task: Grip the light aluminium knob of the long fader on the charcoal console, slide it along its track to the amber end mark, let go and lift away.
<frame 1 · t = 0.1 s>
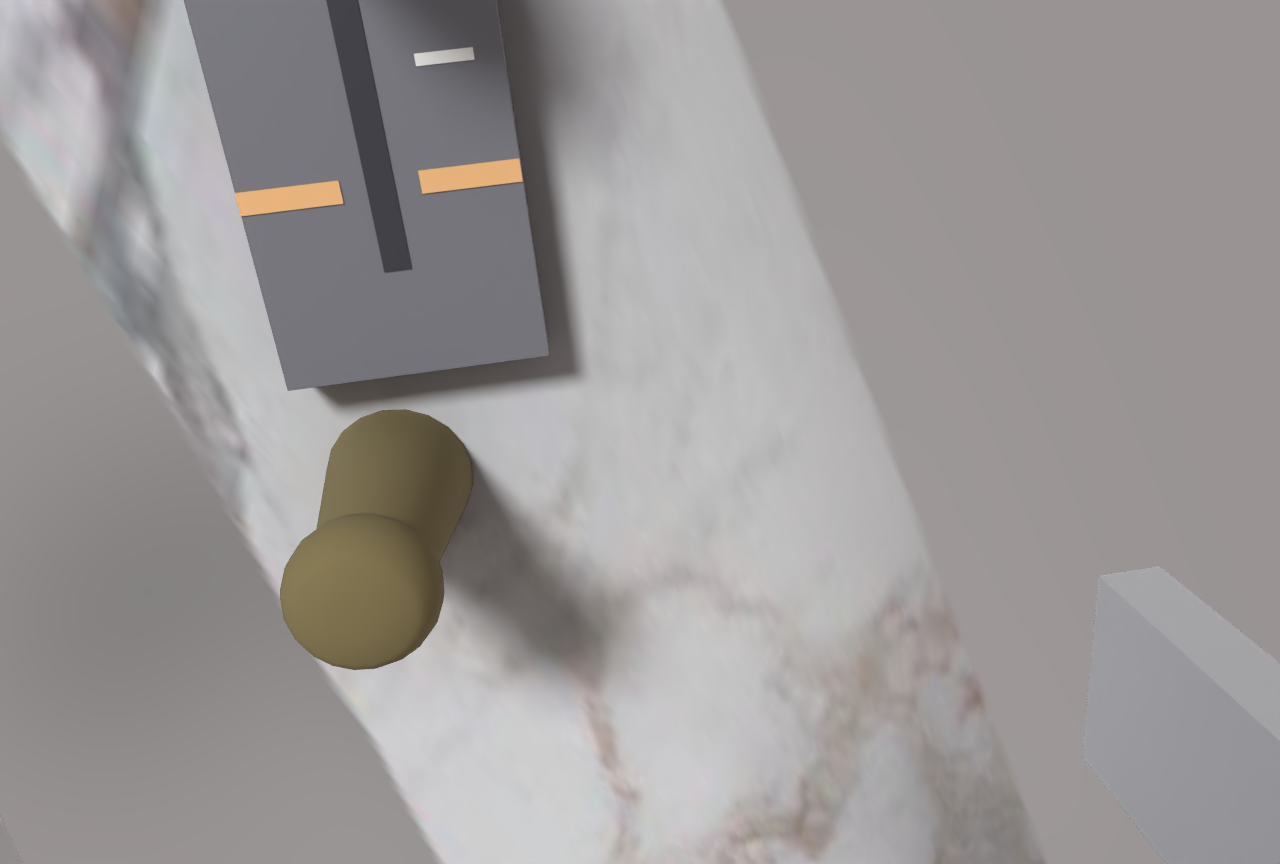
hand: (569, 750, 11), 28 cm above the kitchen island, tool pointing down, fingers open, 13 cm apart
fader console: (365, 66, 34), on the kitchen island
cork: (401, 474, 40), on the kitchen island
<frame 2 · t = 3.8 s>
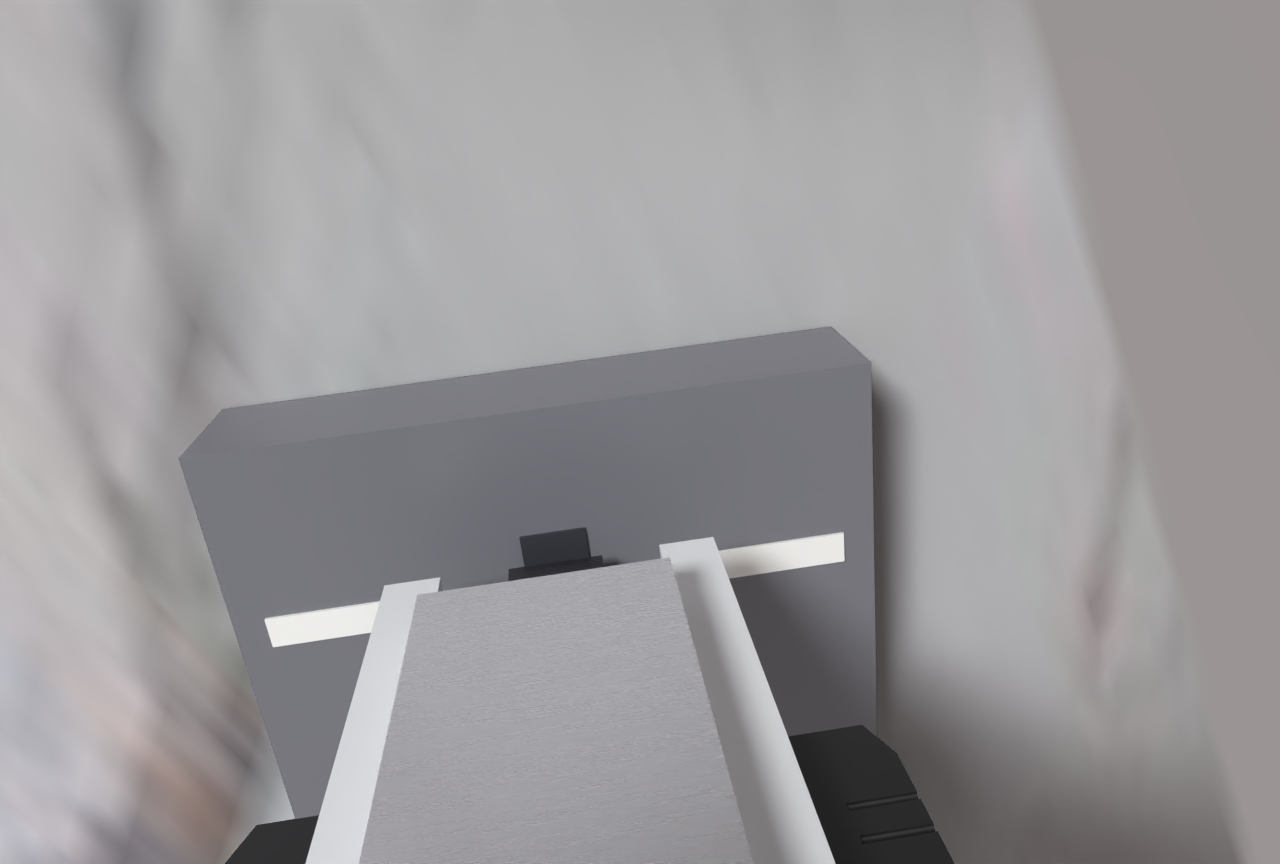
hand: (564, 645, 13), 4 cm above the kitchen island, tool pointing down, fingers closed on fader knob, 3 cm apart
fader knob: (573, 814, 10), point 7 cm above the kitchen island, slide at 0.0 cm, touching gripper
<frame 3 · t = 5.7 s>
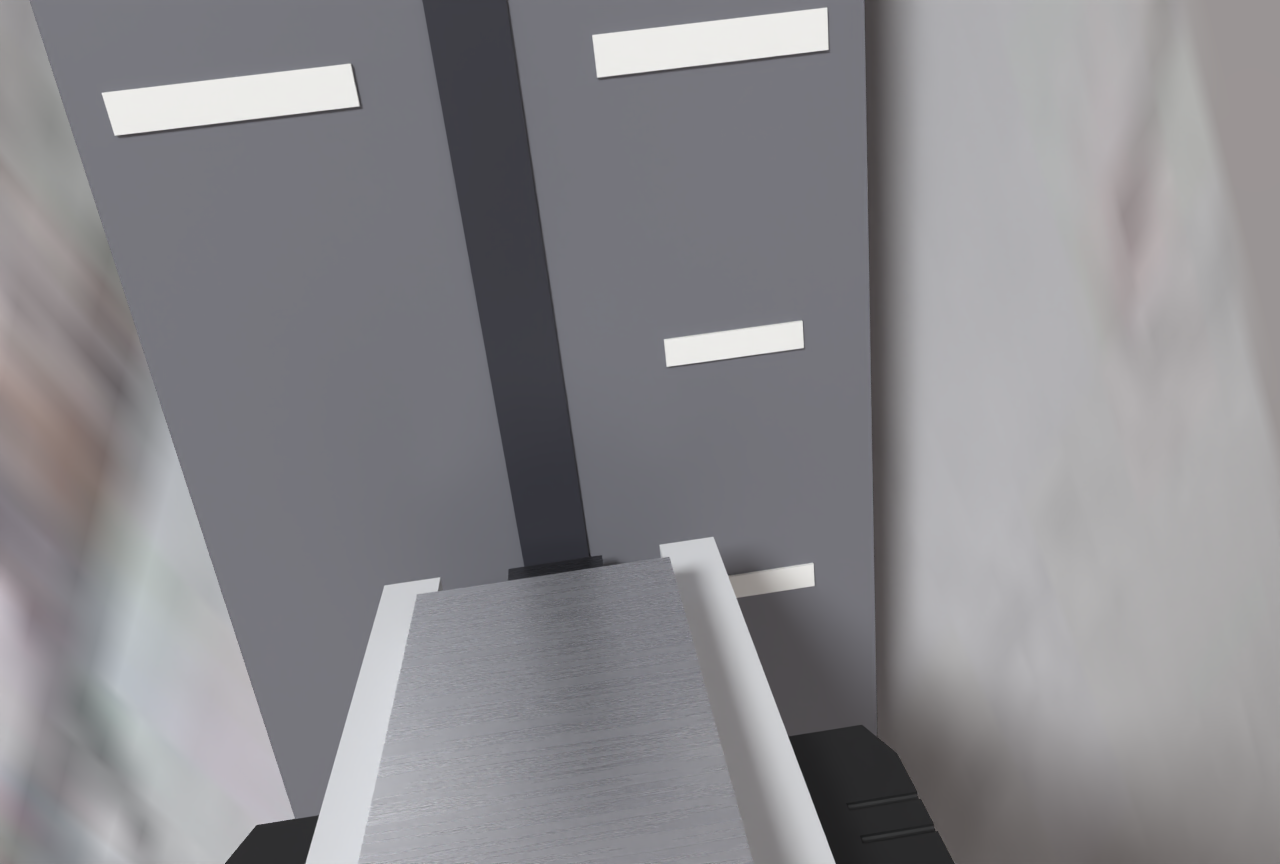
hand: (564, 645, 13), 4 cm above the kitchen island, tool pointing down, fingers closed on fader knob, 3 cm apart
fader console: (561, 550, 17), on the kitchen island
fader knob: (572, 813, 10), point 7 cm above the kitchen island, slide at 7.6 cm, touching gripper
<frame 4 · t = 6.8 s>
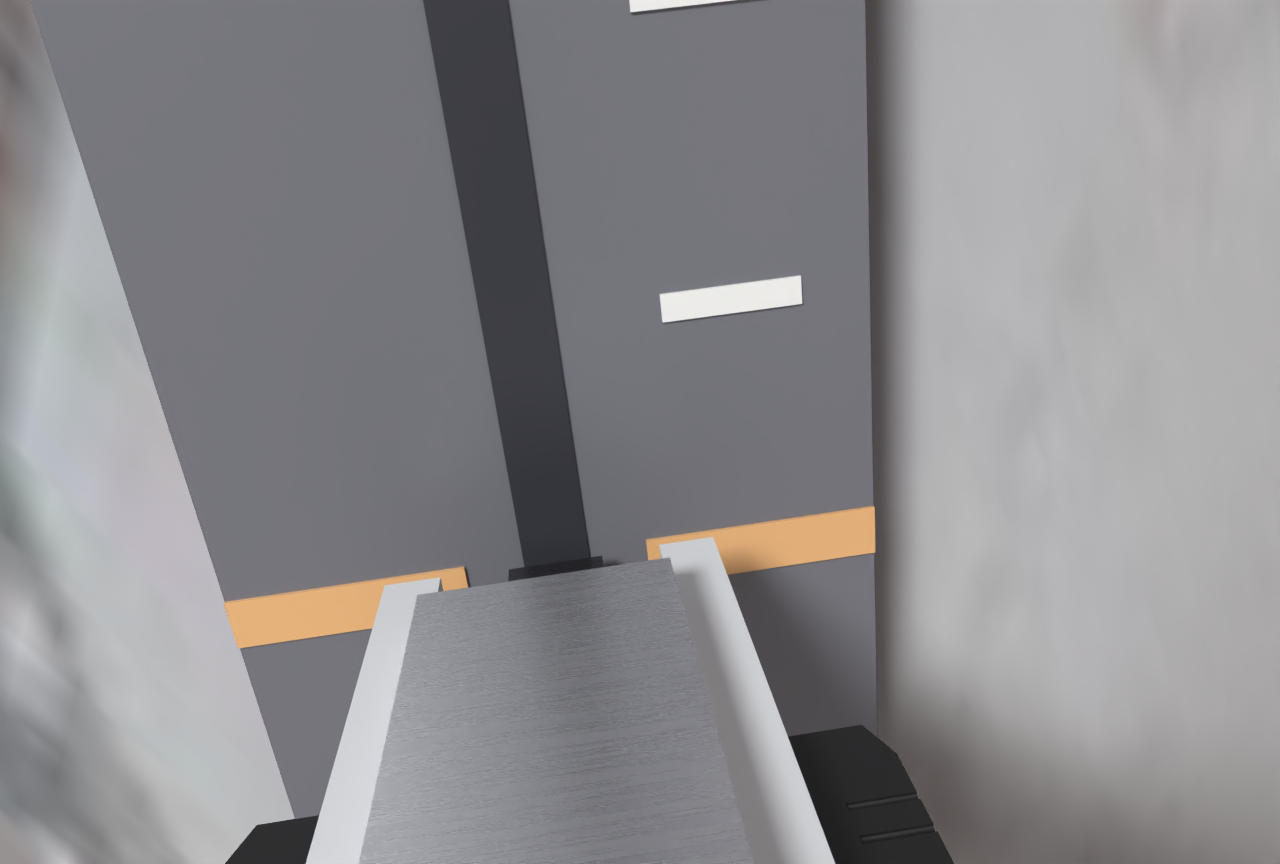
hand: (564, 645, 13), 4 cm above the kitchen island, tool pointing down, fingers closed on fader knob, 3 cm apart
fader console: (520, 293, 15), on the kitchen island
fader knob: (573, 814, 10), point 7 cm above the kitchen island, slide at 12.2 cm, touching gripper
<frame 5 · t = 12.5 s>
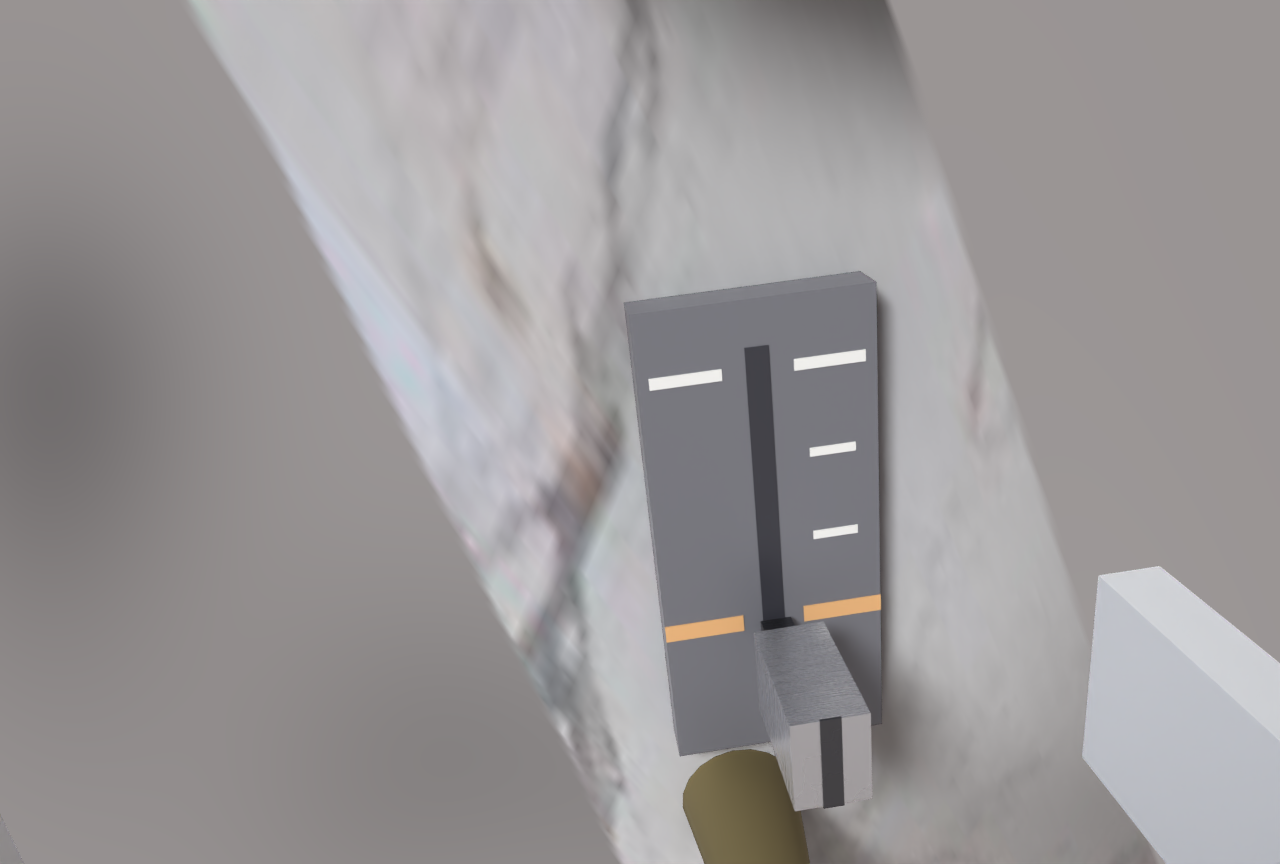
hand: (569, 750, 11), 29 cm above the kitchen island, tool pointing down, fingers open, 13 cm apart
fader console: (758, 520, 43), on the kitchen island
fader knob: (801, 691, 39), point 7 cm above the kitchen island, slide at 12.5 cm
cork: (738, 793, 49), on the kitchen island
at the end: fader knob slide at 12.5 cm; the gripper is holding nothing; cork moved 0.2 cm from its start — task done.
